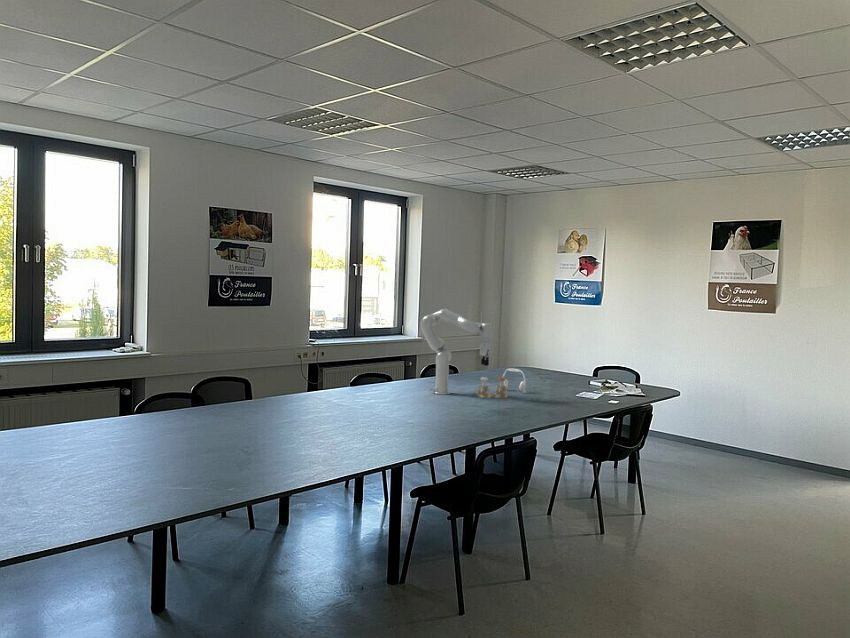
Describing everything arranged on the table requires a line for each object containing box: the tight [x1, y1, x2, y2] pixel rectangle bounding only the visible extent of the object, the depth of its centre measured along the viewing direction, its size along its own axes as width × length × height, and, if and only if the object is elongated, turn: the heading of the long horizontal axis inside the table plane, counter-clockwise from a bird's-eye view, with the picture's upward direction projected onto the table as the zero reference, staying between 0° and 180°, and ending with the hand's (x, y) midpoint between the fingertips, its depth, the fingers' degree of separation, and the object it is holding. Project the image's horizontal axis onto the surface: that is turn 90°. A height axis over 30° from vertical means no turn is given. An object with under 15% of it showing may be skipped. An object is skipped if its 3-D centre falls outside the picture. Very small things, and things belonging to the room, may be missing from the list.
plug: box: [480, 376, 489, 387], centre depth 464 cm, size 5×5×8 cm
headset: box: [502, 368, 527, 394], centre depth 492 cm, size 20×7×18 cm, turn 53°
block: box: [476, 385, 509, 399], centre depth 466 cm, size 20×10×8 cm, turn 107°
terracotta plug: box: [498, 376, 507, 387], centre depth 468 cm, size 5×5×8 cm
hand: (484, 364), depth 463 cm, fingers open, 5 cm apart
